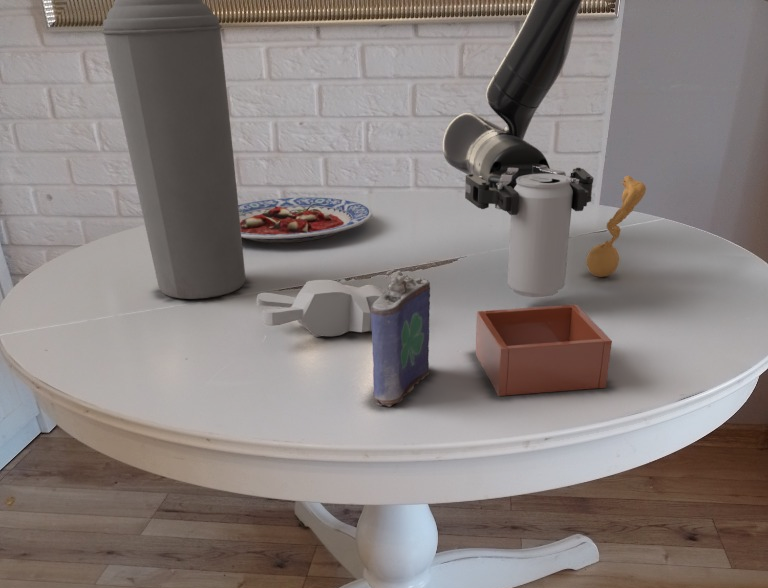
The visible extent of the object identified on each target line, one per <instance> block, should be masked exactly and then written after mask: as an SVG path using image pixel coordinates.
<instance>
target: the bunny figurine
mask: <svg viewBox="0 0 768 588" xmlns="http://www.w3.org/2000/svg"><path fill="white" fill-rule="evenodd" d="M383 293H385V292H384V291H383V289H381V288H380V287H378V286H376V285H374V284H365V285H362V286H360V287H357V286H353V285H348V284H344V283H341V282H339V281H336V280H331V279H313V280H307V281H306V282H305V284H304V285H303V286H302V288H301V289H300V290H299V292H298V293H297V295H296V297H295V296H289V295H285V294H278V293H273V292H260V293H258V294H257V296H256V305H257V306H259V307H260V306H262V307H275V308H270V309H263V310H262V323H263V324H264V325H266V326H271V327H276V326H281V325H285V324H289V323H292V322H296V321H297V323H298V324H300V325H301V326H302V327H303V328H304V329H306V330H307V331H308V332H310V333H311V335H312V336H313V337H315V338H319V337H338V336H342V335H344V334H345V333H348V332H355V333H356V332H357V333H365V332H370V333H372V324H371V307H372V305H373V303H374V302H375V301H376V300H377V299H378V298H379V297H380V296H381V295H383ZM276 307H277V308H276Z"/></svg>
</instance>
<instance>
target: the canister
mask: <svg viewBox="0 0 768 588" xmlns="http://www.w3.org/2000/svg"><path fill="white" fill-rule="evenodd" d="M102 26H103V29H102V30H101V34H103V36H104V41H105V47H106V51H107V55H108V60H109V64H110V69H111V74H112V78H113V79H112V80H113V84H114V88H115V92H116V98H117V102H118V107H119V112H120V115H121V121H122V126H123V130H124V136H125V140H126V144H127V149H128V154H129V159H130V162H131V167H132V172H133V177H134V182H135V186H136V190H137V191H136V192H137V195H138V199H139V204H140V208H141V213H142V218H143V223H144V226H145V231H146V235H147V239H148V245H149V250H150V254H151V259H152V263H153V267H154V272H155V277H156V281H157V285H158V288H159V290H160V291H161V293H162V294H164V295H166V296H168V297H170V298H177V299H184V300H185V299H187V300H198V299H199V300H200V299H209V298H215V297H220V296H223V295H227V294H230V293H234V292H235V291H237V290H239V289H240V288H242V287H243V286H244V285H245V282H246V269H245V259H244V249H243V241H242V240H243V237H241V227H240V217H239V207H238V205H239V199H238V198H239V197H238V189H237V179H236V178H237V176H236V168H235V157H234V156H235V155H234V147H233V139H232V128H231V120H230V119H231V118H230V109H229V99H228V91H227V81H226V70H225V61H224V51H223V42H222V31H221V29H222V28H223V26H222V24H220V21H219V17H218V16H217V15H216V14H214V13H213V11H212V9H211V7H210V6H209V5H207V4H206V3H204V2H203V0H114V1H113V6H112V7H111V8H110V9H109V10H108V12H107V15H106V18H105V19H103V21H102Z"/></svg>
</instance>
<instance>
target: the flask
mask: <svg viewBox="0 0 768 588" xmlns="http://www.w3.org/2000/svg"><path fill="white" fill-rule="evenodd" d="M388 276H390V283H389V284H388V286H387V287H388V290H386V291H385V292H384V293H383V295H381V296H380V297H379V298H378V299H377V300H376V301H375V302H374V303H373V305H372V307H371V324H372V332H371V340H372V342H371V343H372V361H373V362H372V363H373V365H372V366H373V367H372V376H373V377H372V378H373V379H372V380H373V399H374V402H375V404H376V405H377V406H387V407H388V408H389V407H392V406H393V405H395V404H399V403H401V402H402V401H403V400H404V397H405V396H406V395H408V394H410V393H411V392H413V390H414V387H415V385H419V382H420V381H421V380H424V379H425V378H426V377H427V376H428V375H429V374H430V368H429V367H430V366H429V365H430V363H429V356H430V355H429V353H430V346H429V345H430V310H431V300H430V298H431V283H430V281H429V280H428V279H425V278H420V277H415V276H414V277H409V275H408V274H407V273H406V274H404V273H403V272H402V271H401V270H397V271H396V269H390V270H388V271H387V272H386V273H385V276H384V278H385V279H387V278H388Z"/></svg>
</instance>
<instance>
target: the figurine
mask: <svg viewBox="0 0 768 588" xmlns="http://www.w3.org/2000/svg"><path fill="white" fill-rule="evenodd" d="M621 183H622V185H623V186H624V190H623V192H622V195H621V202H622V203H621V204H622V205H621V206H620V208H619V209H617V211H616V212H615V214H613V217H611V218H610V219H609V220H608V221H607V222H606V229H607V230H608V232H609V234H610V236H612V237H611V239H609V240H605V241H604V242H602V243H599V244H596V245H594V246H593V247H591V248H590V250H589V252H588V253H587V255H586V260H585V263H586V264H585V265H586V267H587V270H588V271H589V272H590V273H591V274H592V275H593V276H596V277H598V278H604V277H607V276H610V275H611V274H613V273H614V272H615V271H616V270H617V268H618V266H619V265H620V264H619V263H620V254H619V252H618V249H617V248H616V247H615V246H613V244H614V243H615V242H616V240H617V239H618V238H619V237H620V233H621V227H620V226H619V224H620V223H622V222H623V221H624V220H626V218H627V217H628V216H629V215H630V214H631V213H633V211H634V209H635V207H636V206H637V205H638V204H639V203H640V202H641V201H642V199H643V197H644V196H645V194H646V191H647V186H646V184H645V183H644V182H642V181H638V180H636V179H634V178H633V177H632V176H630V175H625V176H624V177H623V181H622V182H621Z"/></svg>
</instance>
